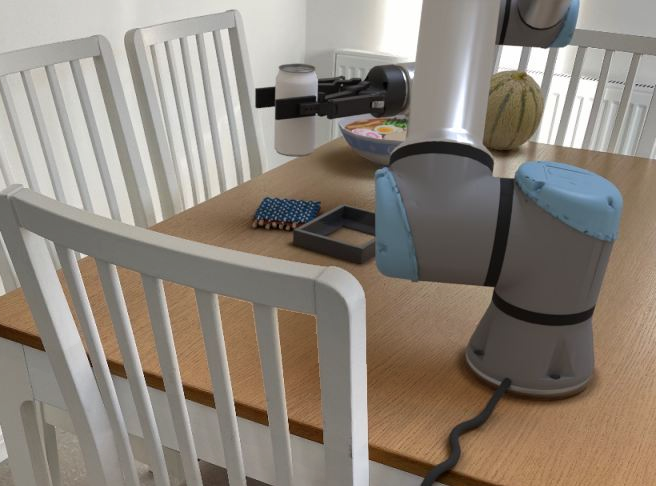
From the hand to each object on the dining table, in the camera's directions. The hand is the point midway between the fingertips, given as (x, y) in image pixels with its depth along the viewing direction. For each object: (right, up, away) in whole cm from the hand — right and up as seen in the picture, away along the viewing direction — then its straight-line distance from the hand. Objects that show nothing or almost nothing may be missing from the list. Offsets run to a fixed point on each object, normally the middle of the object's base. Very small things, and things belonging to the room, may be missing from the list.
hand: (266, 104), depth 125 cm
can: (+4, -4, +7) cm, 9 cm away
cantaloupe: (+49, +14, +48) cm, 70 cm away
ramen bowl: (+25, +8, +40) cm, 47 cm away
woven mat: (+3, -13, +15) cm, 20 cm away
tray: (+14, -18, +8) cm, 24 cm away
